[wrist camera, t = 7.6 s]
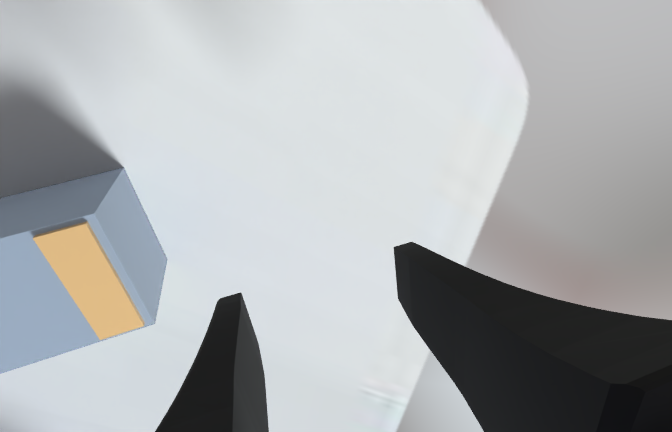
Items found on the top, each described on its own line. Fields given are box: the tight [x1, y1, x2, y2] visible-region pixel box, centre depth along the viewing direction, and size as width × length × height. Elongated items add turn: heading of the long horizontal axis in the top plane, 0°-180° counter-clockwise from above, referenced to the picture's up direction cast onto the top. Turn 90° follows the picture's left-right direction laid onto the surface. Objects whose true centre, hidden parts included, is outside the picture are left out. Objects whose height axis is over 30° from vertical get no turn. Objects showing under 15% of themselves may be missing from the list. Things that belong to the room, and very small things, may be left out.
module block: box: [0, 168, 167, 374], centre depth 15 cm, size 5×7×5 cm
